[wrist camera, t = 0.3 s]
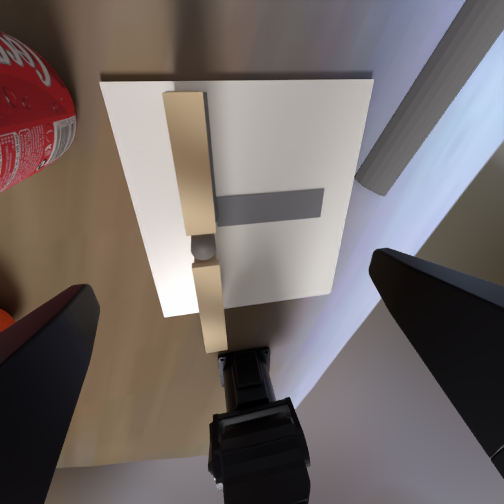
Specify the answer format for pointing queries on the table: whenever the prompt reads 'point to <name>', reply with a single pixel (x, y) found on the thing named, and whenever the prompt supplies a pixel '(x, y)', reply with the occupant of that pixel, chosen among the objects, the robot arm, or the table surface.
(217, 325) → the fence fold
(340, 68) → the table surface
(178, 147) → the fence fixed
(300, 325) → the table surface
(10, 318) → the clementine
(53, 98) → the soda can
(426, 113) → the half round rod
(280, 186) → the mat
